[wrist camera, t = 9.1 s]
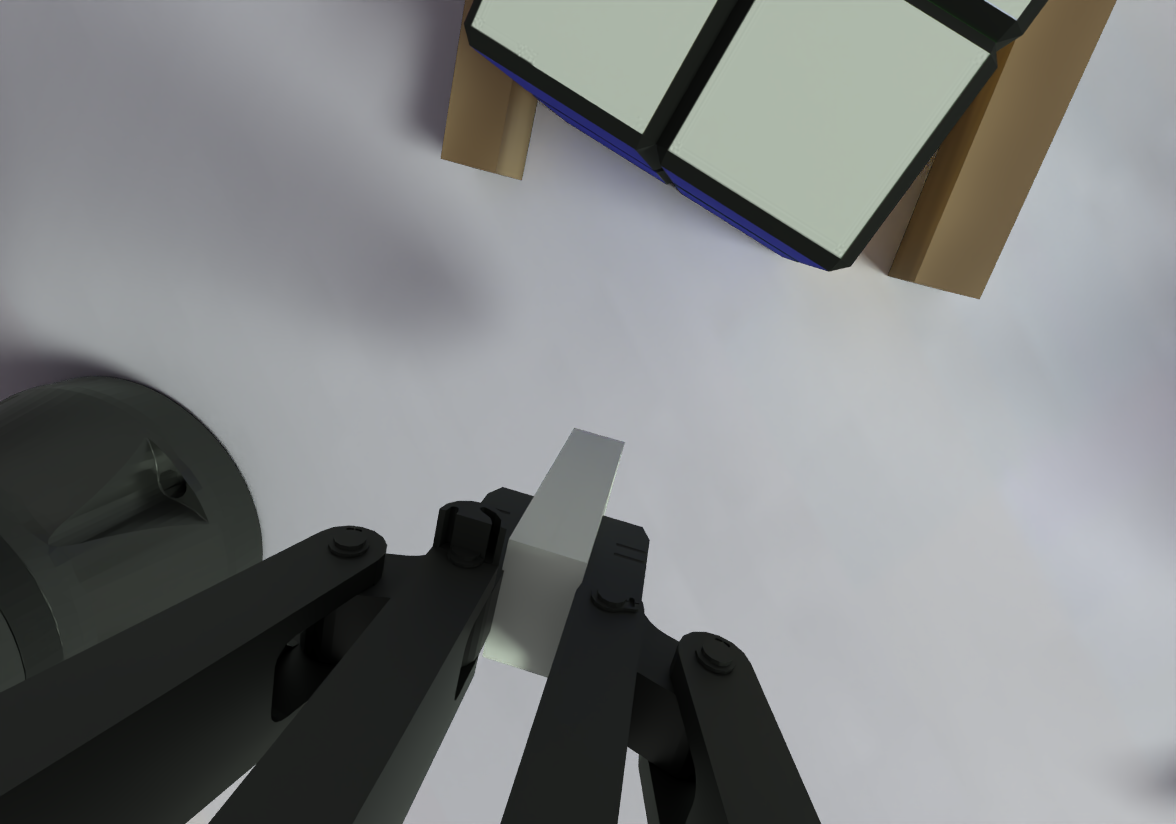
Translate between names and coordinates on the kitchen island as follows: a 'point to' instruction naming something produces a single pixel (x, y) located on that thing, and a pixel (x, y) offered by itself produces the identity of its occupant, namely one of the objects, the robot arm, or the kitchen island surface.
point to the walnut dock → (957, 177)
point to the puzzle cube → (762, 97)
